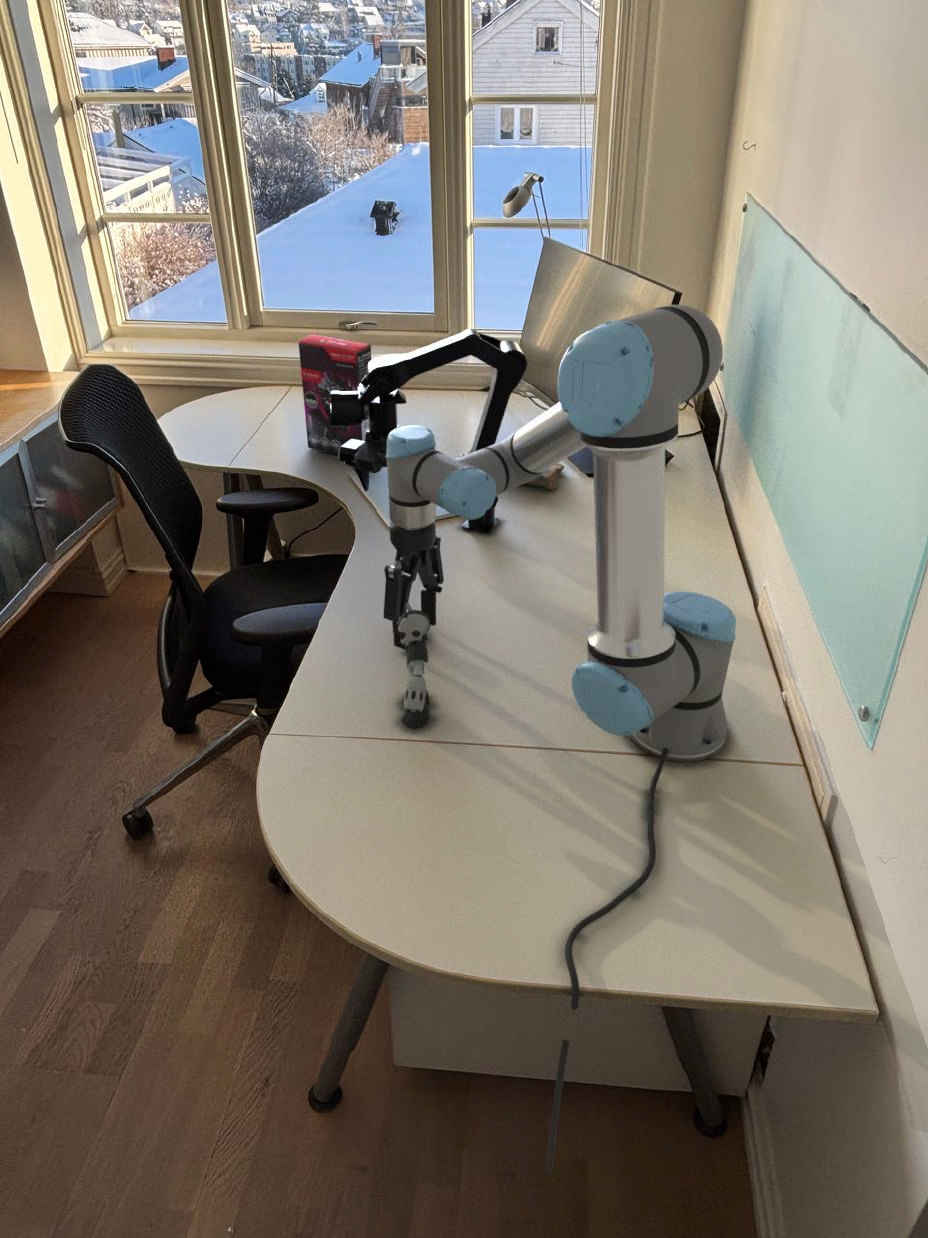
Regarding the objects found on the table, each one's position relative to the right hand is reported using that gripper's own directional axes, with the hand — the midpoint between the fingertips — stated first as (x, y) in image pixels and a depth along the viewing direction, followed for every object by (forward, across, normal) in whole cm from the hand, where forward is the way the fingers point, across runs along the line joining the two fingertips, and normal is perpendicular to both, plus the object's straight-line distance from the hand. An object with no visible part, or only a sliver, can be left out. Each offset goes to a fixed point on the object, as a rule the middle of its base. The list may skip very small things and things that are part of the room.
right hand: (415, 634), depth 163 cm
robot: (+1, +17, +11) cm, 21 cm away
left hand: (-8, -31, -27) cm, 42 cm away
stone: (+1, -68, -16) cm, 70 cm away
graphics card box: (+1, -59, -60) cm, 84 cm away
